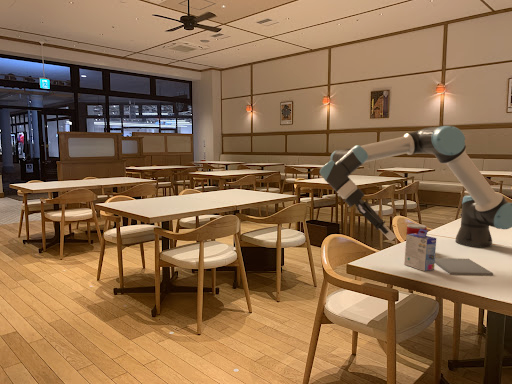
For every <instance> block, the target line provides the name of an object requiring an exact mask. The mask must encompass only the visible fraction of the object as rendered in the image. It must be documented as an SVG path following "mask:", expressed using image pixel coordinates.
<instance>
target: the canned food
mask: <svg viewBox="0 0 512 384" xmlns="http://www.w3.org/2000/svg"><path fill="white" fill-rule="evenodd" d="M427 228H428V227H427V225H424V224H421V223H420V224H419V223H408V224H407V225H406V235H407V234H413V233H416V234H418V232H419V230H420V229H424V230H428V229H427ZM420 233H424V234H425V233H426V232H424V231H420Z"/></svg>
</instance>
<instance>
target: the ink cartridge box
mask: <svg viewBox="0 0 512 384" xmlns="http://www.w3.org/2000/svg"><path fill="white" fill-rule="evenodd" d="M420 231H424V232H426V233H425V234H424V233H420ZM428 232H429V230H428V229H426V230H424V229H420V230H419V232H418V234H416V233H413V234H407V233H406V237H405V247H404V248H405V252H404V261H403V262H404V263H403V264H404V265H405V266H408V267H410V268H411V267H412V268H413V269H414V268H415V269H417V270H420V271H423V272H428V271H434V270H435V265H436V264H435V258H436V249H437V237H434V236H433V237H432V236H429V235H427V234H428Z"/></svg>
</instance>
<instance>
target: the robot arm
mask: <svg viewBox="0 0 512 384" xmlns="http://www.w3.org/2000/svg"><path fill="white" fill-rule="evenodd" d="M465 141H466V137H465V134H464V132H463V131H462V130H461V129H460V128H458V127H456V126H453V125H452V126H451V125H441V126H430V127H425V128H424V127H423V128H422V129H418V130H415V131H411V132H408V133H404V135H402V136H400V137H396V138H391V139H386V140H381V141H378V142H377V141H376V142H372V143H366V144H363V145H358V144H357V145H354V146H353V147H350V148H345V149H337V150H334V151H333V152H331V155H330V157H329V158H330V160H329V161H328V162H326V163H325V164H324V165H323V166H322V167H321V168H320V169H319V175H320V176H321V177H322V178H323V180H324V181H325V182H326V183H327V184H328V185H329V187H331V188H332V189H333V190H334V191H335V192H336V193H337V196H338V197H340V198H341V199H342V200H344V202H345V203H346V204H347V206H348V207H350V208H352V207H353V206H354V205H355V207H356V210H358V212H359V213H360V214H361V215H362V216H363V217H364V218H365V219H366V220H367V221H368V222H369V223H371V224H372V225H373V227H374V228H375V230H376V231H378V230H379V231H380V232H381V233H382V235H384V236H385V237H386V238H387V239H388V241H389V242H392V241H393V240H395V238H397V235H396V234H395V233H394V232H393V231H392V230H391V229H390V228H389V227H388V226H387V225H386V224H385V223H386V221H385V220H383V219H382V218H381V217H380V216H379V215H378V214H377V212H376V211H375V210H374V209H373V207H371V205H370V204H369V202H368V201H364V200H363V198H364V197H365V193H364V192H363V191H362V190H361V189H360V188H358V185H356V183H355V182H353V180H352V179H351V178H350V176H351V175H352V174H353V173H354V172H355V171H357V169H358V168H360V167H361V166H362V165H363V164H365V163H368V162H372V161H373V162H374V161H377V160H382V159H388V158H391V157H397V156H400V155H405V154H406V155H409V156H411V155H417V154H422V155H423V154H425V155H426V154H427V155H433V156H435V158H436V160H438V162H439V163H440V164H441V165H442V164H444V165H447V167H448V168H449V170H450V171H451V172H452V174H453V175H454V176H455V177H456V178H457V180H458V181H459V183H460V184H461V185H462V186H463V188H464V189H465V190H466V192H467V193H468V195H464V196H463V197H462V202H461V217H460V227H459V230H458V232H457V234H456V237H455V242H456V243H457V244H459V245H463V246H466V247H467V246H468V247H474V248H489V247H492V246H493V238H492V234H491V231H490V227H492V228H496V229H498V230H510V229H511V228H512V202H508V201H507V199H506V198H505V196H504V195H503V193H501V192H496V191H495V189H493V187H492V186H491V184H489V182H488V181H487V179H486V178H485V177H484V175H483V174H482V172H481V171H480V170H479V168H478V167H477V166H476V165H475V163H474V162H473V161H472V159H471V158H470V156H469V155H468V154H467V152H466V150H467V146H466V142H465Z"/></svg>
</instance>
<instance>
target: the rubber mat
mask: <svg viewBox="0 0 512 384" xmlns="http://www.w3.org/2000/svg"><path fill="white" fill-rule="evenodd" d="M434 265H437V266H438V267H440V269H442V270H443V271H445V272H446V273H447V274H449V275H458V276H460V275H463V276H494V273H493V272H492V271H490V270H488V269H487V268H485V267H484V266H482V265H480V264H478V263H477V262H475V261H473V260H472V259H470V258H452V257H451V258H450V257H448V258H447V257H446V258H445V257H435V264H434Z"/></svg>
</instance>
